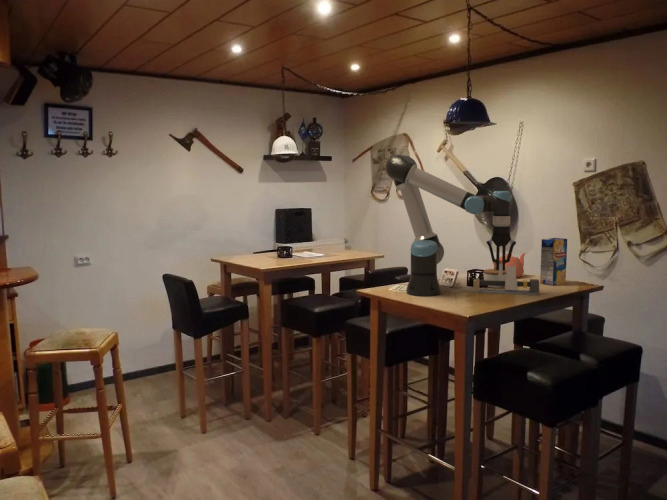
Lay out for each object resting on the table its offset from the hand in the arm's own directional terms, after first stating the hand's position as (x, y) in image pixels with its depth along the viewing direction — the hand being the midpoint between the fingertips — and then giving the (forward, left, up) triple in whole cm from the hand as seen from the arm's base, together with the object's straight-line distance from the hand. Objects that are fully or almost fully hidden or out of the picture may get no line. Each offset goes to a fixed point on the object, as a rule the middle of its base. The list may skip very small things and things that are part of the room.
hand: (500, 277), depth 239 cm
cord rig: (+2, 0, -7) cm, 7 cm away
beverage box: (+26, +27, -7) cm, 38 cm away
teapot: (+7, +45, -7) cm, 46 cm away
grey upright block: (+4, 0, -5) cm, 7 cm away
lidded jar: (-2, +13, -7) cm, 15 cm away
